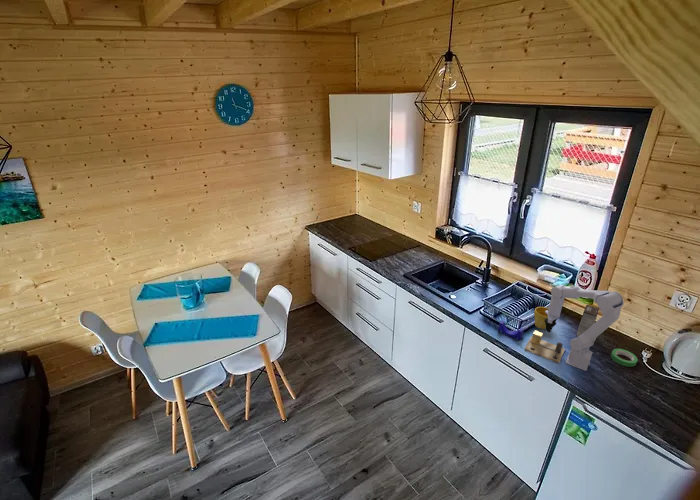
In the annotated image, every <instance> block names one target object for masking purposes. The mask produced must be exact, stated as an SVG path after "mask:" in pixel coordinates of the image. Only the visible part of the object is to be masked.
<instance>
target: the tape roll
mask: <svg viewBox="0 0 700 500" xmlns="http://www.w3.org/2000/svg"><path fill="white" fill-rule="evenodd" d="M619 355H622V356H625V357H627V358H629V359H630V360H626V359H623V358H621V357H620V356H619ZM610 357H611V359H612V360H613V362H615V363H617V364H618V365H621V366H623V367H630V368H632V367H635V366H636V365H637V363H638V358H637V356H636V355H635V353H633V352H630V351H628V350H626V349H623V348H614V349H613V350H612V351H611V354H610Z"/></svg>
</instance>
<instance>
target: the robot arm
mask: <svg viewBox="0 0 700 500" xmlns="http://www.w3.org/2000/svg"><path fill="white" fill-rule="evenodd" d="M550 294H551V298H550V302H549V306H548V308H549V309H548V310H546V311H545V313H547V315H548V319H546V318H545V320H544V322H545V324H546V329H545V332H548V333H551V332H552V330H553V328H554V327H555V326H556V325H557V321H558V319H559V318H560V316H561V315H562V314H561V312H562V308H563V305H564V302H565V299H575V300H576V299H579V298H585V299H592V300H593V302H594V304H596V305H597V306H598V307H597V308H599V312H601V314H602V316H601V317H600V318H598V320H597V321H595V323H594V324H593V325H592V326H591V327H590V328H589V329H588V330H587V331H586V332H584V333H583V334H582V335H580V336H577V337H575V338H571V339H570V341H569V346H570V351H569V354H568V355H567V358H566V360H565V364H567V365H569V366H572V367H575V368H577V369H580V370H583V371H585V372H587V370H588V368H589V366H590V364H591V360H592V359H591V358H592V355H593V351H591V350H590V347H592V346H594V343H595V341H596V340H597V338H598V337H599V336H600V335H601V334H602V333H604V331H606V330H607V329H609V327H611V326H612V325H613V324H615V322H617V321H618V320H619V318H620V315H621V311H622V308H623V306H624V304H625V302H624V298H623V296H622V294H620V293H619V292H618V291H611V290H597V289H596V290H595V289H592V290H591V289H580V288H579V286H575V285H570V286H566V285H565V284H564V285H563V284H560V285H559V284H558V285H556V286H554V287H552V288H551V290H550Z"/></svg>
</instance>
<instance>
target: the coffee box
mask: <svg viewBox="0 0 700 500" xmlns="http://www.w3.org/2000/svg"><path fill="white" fill-rule="evenodd" d="M599 312H600V309H599V307H596V306H593V305H590V304H586V305H585V308H584V310H583V311H582V316H581V320H580V321H579V322H580V323H579V325H578V327H577V328H578V329H577V331H576V336H577V337H578V336H580V335H582V334H583V333H584V332H586V331H587V330H588V329H589V328H590V327H591V326H592V325H593V324H594V323H596V322H597V321H596V320H597V317H598V314H599Z"/></svg>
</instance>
